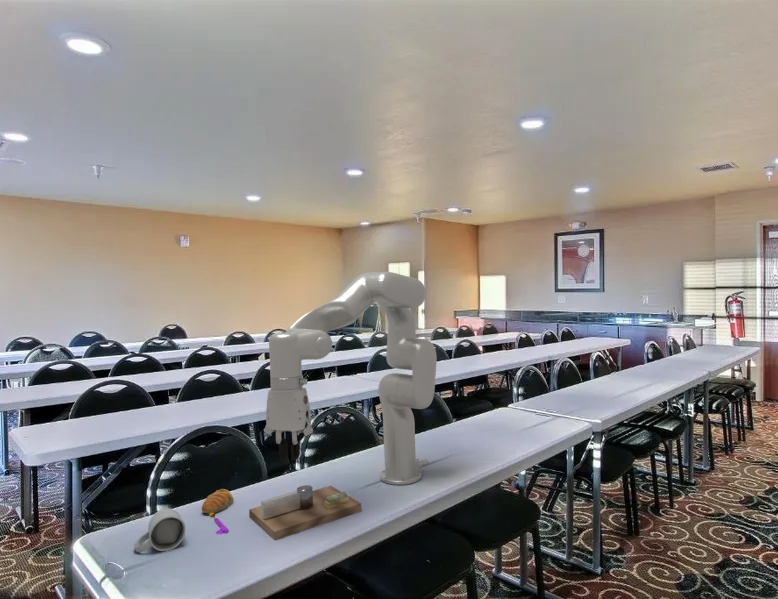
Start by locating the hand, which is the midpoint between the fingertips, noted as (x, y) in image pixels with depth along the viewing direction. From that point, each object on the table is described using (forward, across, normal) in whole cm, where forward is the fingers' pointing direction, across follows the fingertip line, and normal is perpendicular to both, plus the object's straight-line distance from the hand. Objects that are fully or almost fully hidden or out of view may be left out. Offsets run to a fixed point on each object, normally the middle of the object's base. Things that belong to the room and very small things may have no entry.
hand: (289, 458), depth 125 cm
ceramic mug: (+17, +27, +13) cm, 35 cm away
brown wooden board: (+17, 0, -8) cm, 19 cm away
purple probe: (+18, +21, 0) cm, 28 cm away
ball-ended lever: (+15, +3, -4) cm, 16 cm away
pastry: (+17, +26, -8) cm, 32 cm away
